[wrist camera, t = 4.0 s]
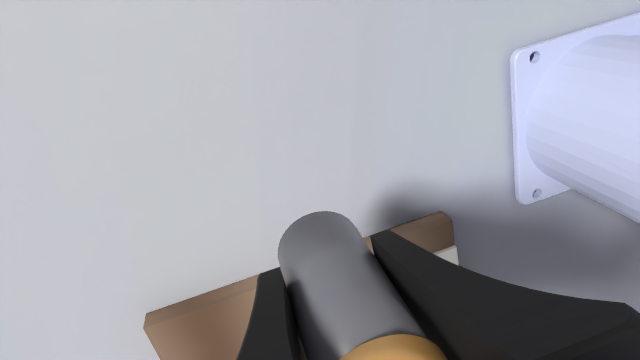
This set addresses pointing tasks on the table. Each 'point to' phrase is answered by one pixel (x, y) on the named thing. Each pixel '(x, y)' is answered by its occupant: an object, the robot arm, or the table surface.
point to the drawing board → (238, 298)
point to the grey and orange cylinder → (346, 295)
